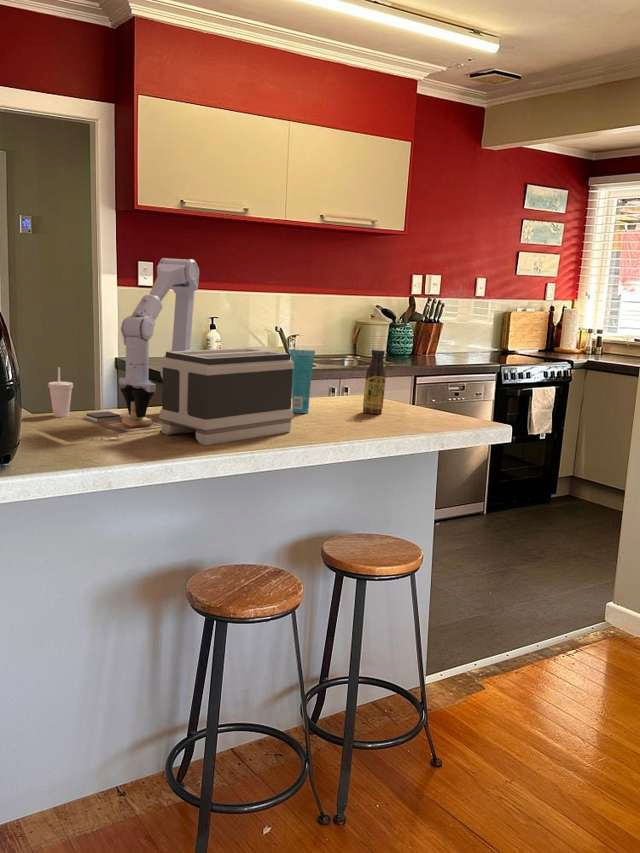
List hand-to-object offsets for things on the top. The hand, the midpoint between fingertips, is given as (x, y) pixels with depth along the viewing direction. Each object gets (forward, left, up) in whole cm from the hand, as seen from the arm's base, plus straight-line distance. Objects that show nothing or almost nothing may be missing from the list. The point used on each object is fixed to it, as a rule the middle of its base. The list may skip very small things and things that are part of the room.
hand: (136, 415), depth 203 cm
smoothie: (+10, -22, -4) cm, 24 cm away
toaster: (-19, +16, -4) cm, 25 cm away
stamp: (0, 0, -2) cm, 2 cm away
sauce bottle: (-75, +15, -4) cm, 77 cm away
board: (-1, -5, -3) cm, 7 cm away
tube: (-55, +3, -4) cm, 55 cm away
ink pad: (+3, -12, -3) cm, 13 cm away
